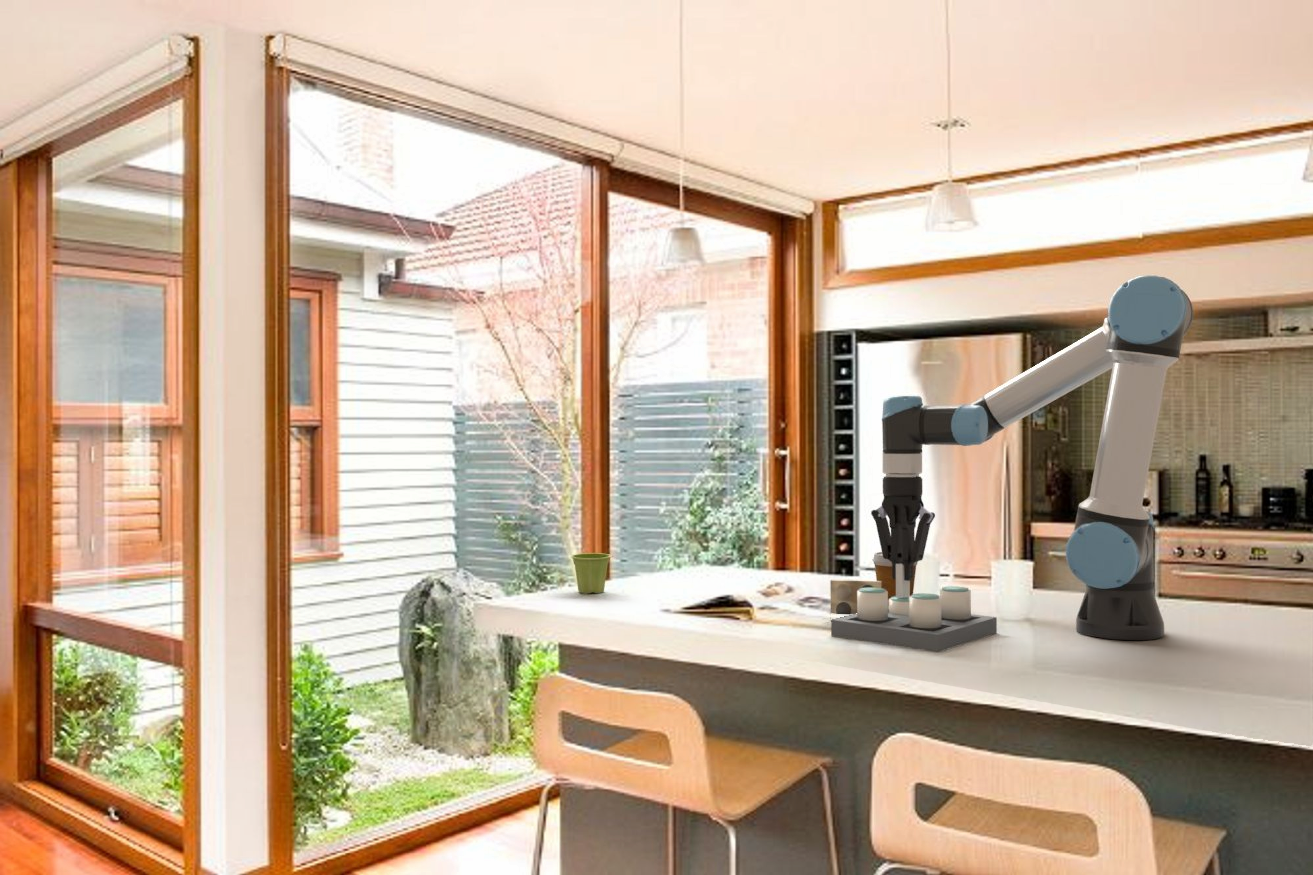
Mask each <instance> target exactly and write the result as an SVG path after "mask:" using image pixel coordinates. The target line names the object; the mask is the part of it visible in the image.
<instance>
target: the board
mask: <svg viewBox="0 0 1313 875" xmlns="http://www.w3.org/2000/svg"><path fill="white" fill-rule="evenodd" d="M997 621H998V619H997V617H996V616H990V615H982V614H974V613H971V618H969V619H962V620H955V619H945V618H941V622H942V626H941V627H938V628H917V627H912V626H910V625H909V616H908V615H900V614H893V613H889V606H888V619H887V620H882V621H868V620H861V619H858V618H857V614H853V615H849V616H844V617H840V618H836V619H832V620H831V619H830V624H831V625H830V632H831V633H830V635H831V637H837V638H842V639H843V638H845V639H848V640H849V639H850V640H857V641H864V642H870V643H877V644H881V645H889V646H896V647H902V648H908V649H909V648H910V649H915V650H920V651H921V650H922V651H927V652H934V653H940V652H943V651H946V650H950V649H952V648H956V647H958V646H962V645H965V644H968V643H972V642H974V641H977V640H980V639H983V638H987V637H990V636H993V635H995V634H997V632H998V631H997V630H998V629H997V628H998V627H997V625H998V624H997V623H998V622H997Z"/></svg>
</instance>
